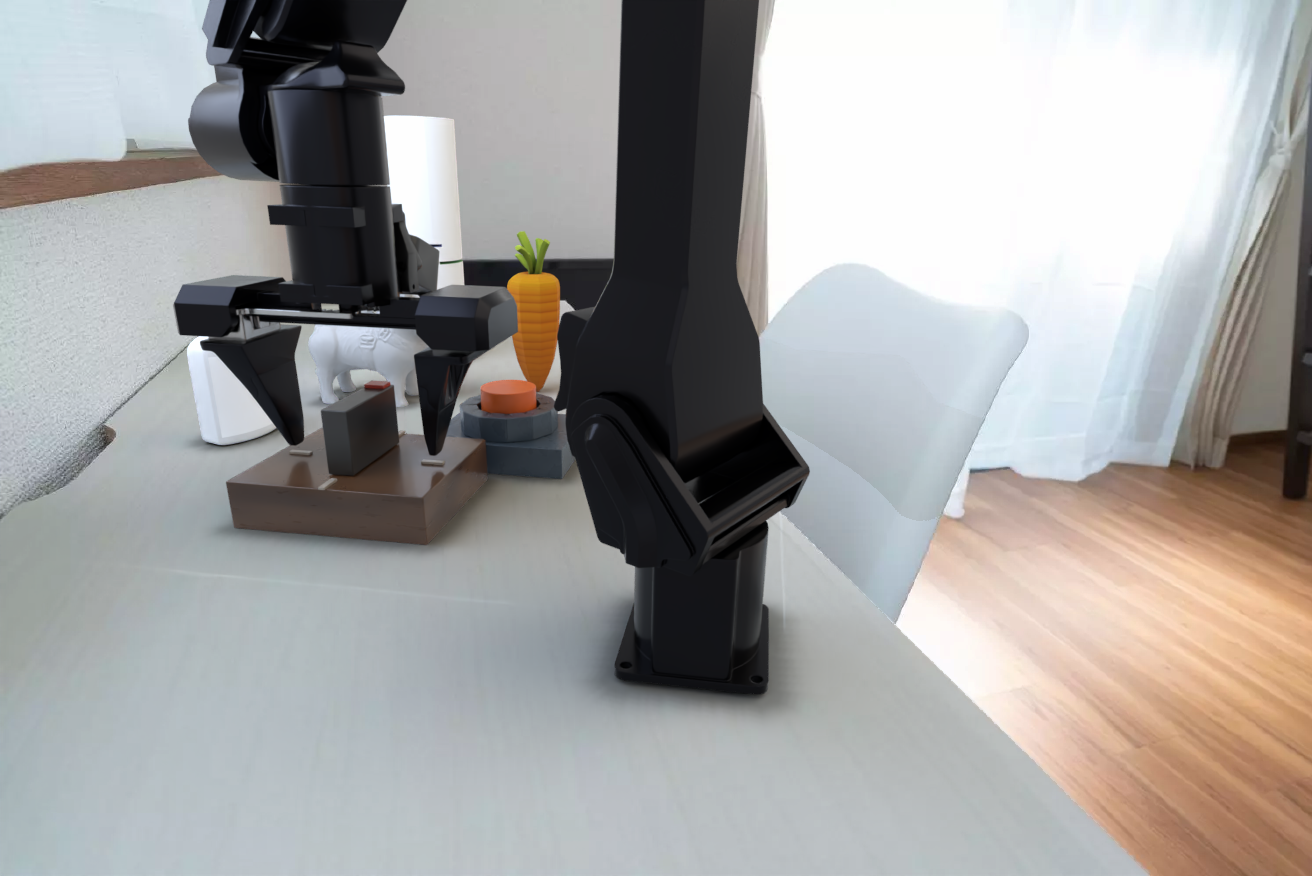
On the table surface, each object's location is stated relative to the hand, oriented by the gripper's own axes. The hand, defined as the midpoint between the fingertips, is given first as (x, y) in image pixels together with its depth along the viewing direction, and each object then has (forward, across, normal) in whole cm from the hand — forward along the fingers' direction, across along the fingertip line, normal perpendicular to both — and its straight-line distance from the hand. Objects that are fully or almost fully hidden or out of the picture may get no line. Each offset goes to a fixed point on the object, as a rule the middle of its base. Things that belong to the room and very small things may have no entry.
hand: (365, 448), depth 47 cm
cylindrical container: (+4, +12, -38) cm, 40 cm away
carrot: (+4, -3, -27) cm, 27 cm away
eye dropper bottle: (+4, +16, -10) cm, 19 cm away
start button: (0, -6, -10) cm, 12 cm away
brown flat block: (+4, 0, 0) cm, 4 cm away
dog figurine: (+4, +10, -22) cm, 24 cm away
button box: (+4, -6, -10) cm, 12 cm away
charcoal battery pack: (+1, 0, 0) cm, 1 cm away
